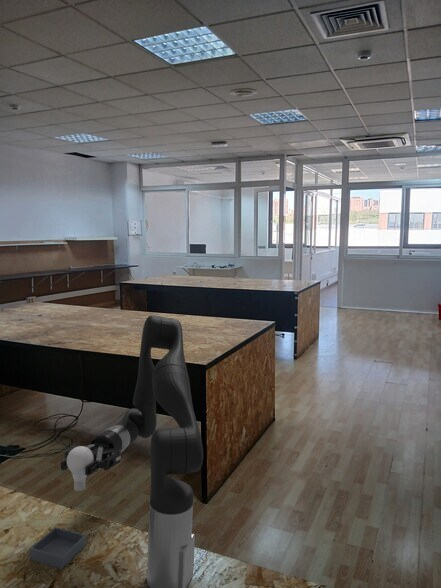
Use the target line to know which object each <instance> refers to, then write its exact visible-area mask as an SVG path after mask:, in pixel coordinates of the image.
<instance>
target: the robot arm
mask: <svg viewBox="0 0 441 588" xmlns="http://www.w3.org/2000/svg"><path fill="white" fill-rule="evenodd" d="M182 327H183V326H182V323H181V322H180V321H179V320H178V319H176V318H172V317H167V316H159V315H158V316H157V315H148V317H147V318H146V319H145V321H144V325H143V327H142V328H143V329H142V335H141V341H140V350H139V360H138V361H139V362H138V372H137V380H136V385H135V389H134V393H133V398H132V404H133V406H134V408H129V409H128V410H127V411H126V412H125V413H124V415H123V416H122V418H121V420H120V421H119V422H118V423H116V424H115V425H113V426H110V427H108V428H107V429H105V430H103V431H102V432H101V433H100V434H98V435H96V436H94V438H93V439H92V440H91V442H90V443H89V444H88V445H85V447H87V448H89V449H90V450H91V451H92V453H93V457H94V460H93V462H92V463H90V464H89V465H87V466H86V468H85V475H87V476H88V477H89V476H90V475H92V474H95V472H97V471H100V470H101V469H103V470H104V471H108V470H111V468H114V467H115V466H116V465H118V464H119V463H120V462H121V459H122V458H121V457H122V456H121V454H122V452H124V451H125V450H126V448H127V447H129V446H130V445H131V444H133V443H135V442H136V440H137V438H139V437H140V438H142V439H147V438H151V439H150V490H149V491H150V495H149V516H148V519H149V521H148V541H147V542H148V544H147V546H148V547H147V569H146V573H147V574H146V582H147V586H148V587H149V588H187V587H188V585H189V583H190V582H191V580H192V578H193V576H194V565H195V563H194V562H195V541H196V540H195V539H196V538H195V537H196V535H195V533H193V532H192V531H193V518H194V517H193V513H194V490H193V488H192V487H191V485H189V484H188V483H187V482H185V481H183V480H179V479H177V478H173V477H171V476H170V475H179V474H191V473H193V474H194V473H196V472H199V471H200V469H201V468H202V466H203V462H204V448H203V441H202V437H201V433H200V428H199V425H198V422H197V417H196V414H195V410H194V405H193V400H192V399H193V398H192V393H191V384H190V377H189V373H188V368H187V364H186V358H185V352H184V335H183V328H182ZM152 349H158V350H160V349H161V350H168V352H167V353H166V354H165V355H164V356H163V357H162V358H161V359H160V360H159V361H158V362H157V363H156V364H155V365H154V362H153V360H152ZM157 404H158V405H159V406H160V407H161V408H162V409H163V410H164V411H165V412H167V414H168V415H170V417H172V419H173V420H174V421H175V422H176V423H177V425H178V427H172V428H171V427H167V428H164V427H163V428H157V423H158V422H157V421H158V420H157V419H158V418H157ZM78 446H80V444H79V443H74V444H73V445H72V446H71V447H69V448H68V449H67V450H65V451H64V459H63V460H61V461H60V471H64V472H65V471H66V470H67V469H69V468H68V467H67V462H66V460H67V456H68V454H69V452H70V451H71V450H72V449H74V448H75V447H78Z"/></svg>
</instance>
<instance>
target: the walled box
mask: <svg viewBox="0 0 441 588" xmlns="http://www.w3.org/2000/svg"><path fill="white" fill-rule="evenodd" d="M86 546H87V534H85V533H84V534H83V533H81V532H76V531H72V530H69V529H64V528H60V527H58V526H55V527H53V528H52V529H51V530H50V531H49V532H47V533H46V534H45V535H44V536H42V537H41V538H40V539H38V541H37V542H36V543H34V544H33V545H32V546H31V547H30V548H29V560H30V561H33V562H37V563H40V564H42V565H43V564H44V565H47V566H51V567H53V568H58V569H60V570H63V569H64V568H65V567H67V566H68V564H70V563H71V561H72V560H73V559H75V557H76V556H77V555H78V554H80V552H81V551H82V550H83V549H84V548H85V547H86Z"/></svg>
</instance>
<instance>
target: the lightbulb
mask: <svg viewBox="0 0 441 588" xmlns="http://www.w3.org/2000/svg"><path fill="white" fill-rule="evenodd" d="M85 446H86V445H85ZM85 446H84V445H79V446H78V447H75V448H74V449H72V450H71V451H70V452H69V454H68V456H67V460H66V462H67V467H68V468H67V469H68V471H70V473H71V474H72V478H73V482H74V483H73V490H75V491H76V492H82V491H84V490H85V489H86V480H87V479H86V478H87V475H85V468H86V466H87V465H89V464H90V463H92V462H93V460H94V457H93V453H92V451H91V450H90V449H89V448H87V447H85Z"/></svg>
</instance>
